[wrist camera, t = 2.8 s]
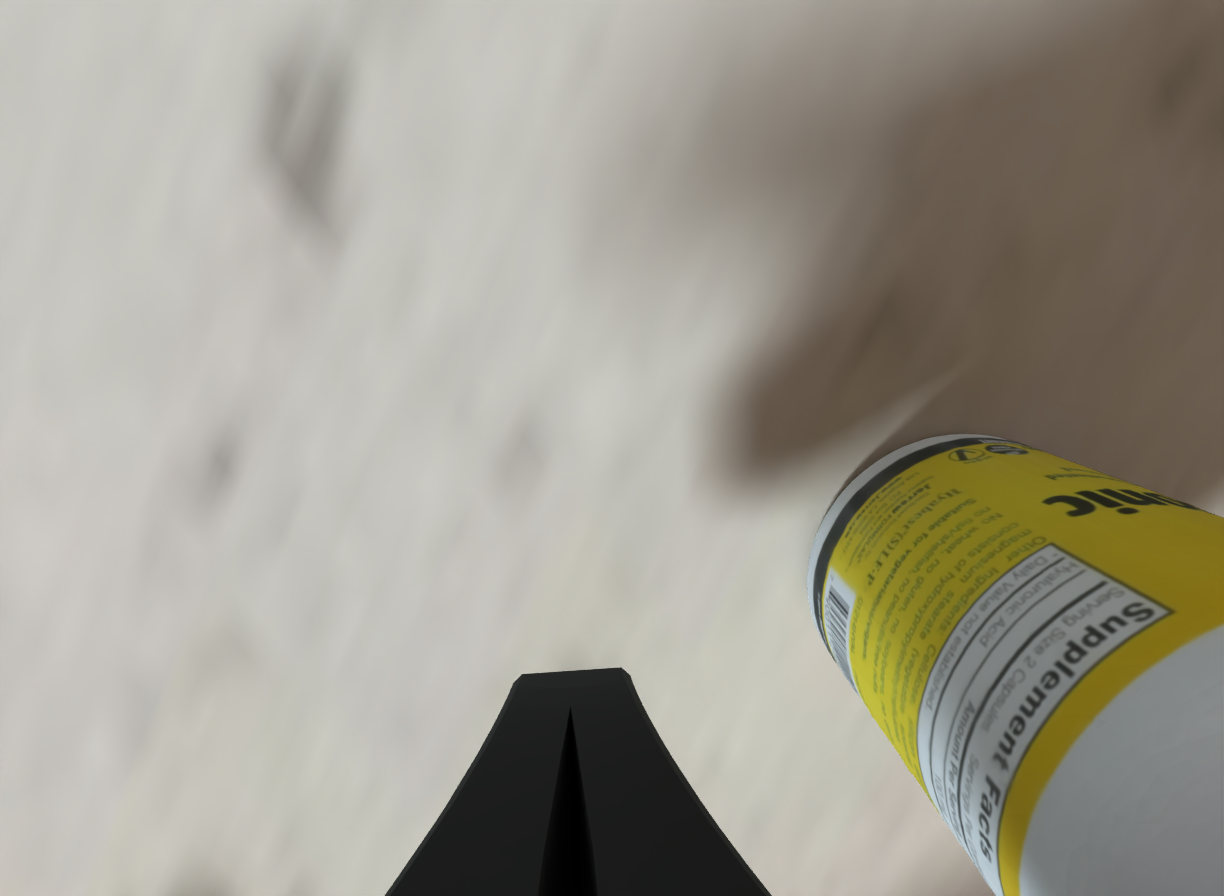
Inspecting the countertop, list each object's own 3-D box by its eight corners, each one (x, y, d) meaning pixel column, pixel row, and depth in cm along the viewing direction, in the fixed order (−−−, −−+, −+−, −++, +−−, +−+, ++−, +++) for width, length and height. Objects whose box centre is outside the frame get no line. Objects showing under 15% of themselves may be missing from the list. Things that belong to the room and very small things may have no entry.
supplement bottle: (1127, 515, 13) (2713, 1224, 3) (949, 722, 14) (1768, 1706, 4) (918, 368, 12) (2359, 785, 2) (743, 603, 13) (1231, 1557, 3)
